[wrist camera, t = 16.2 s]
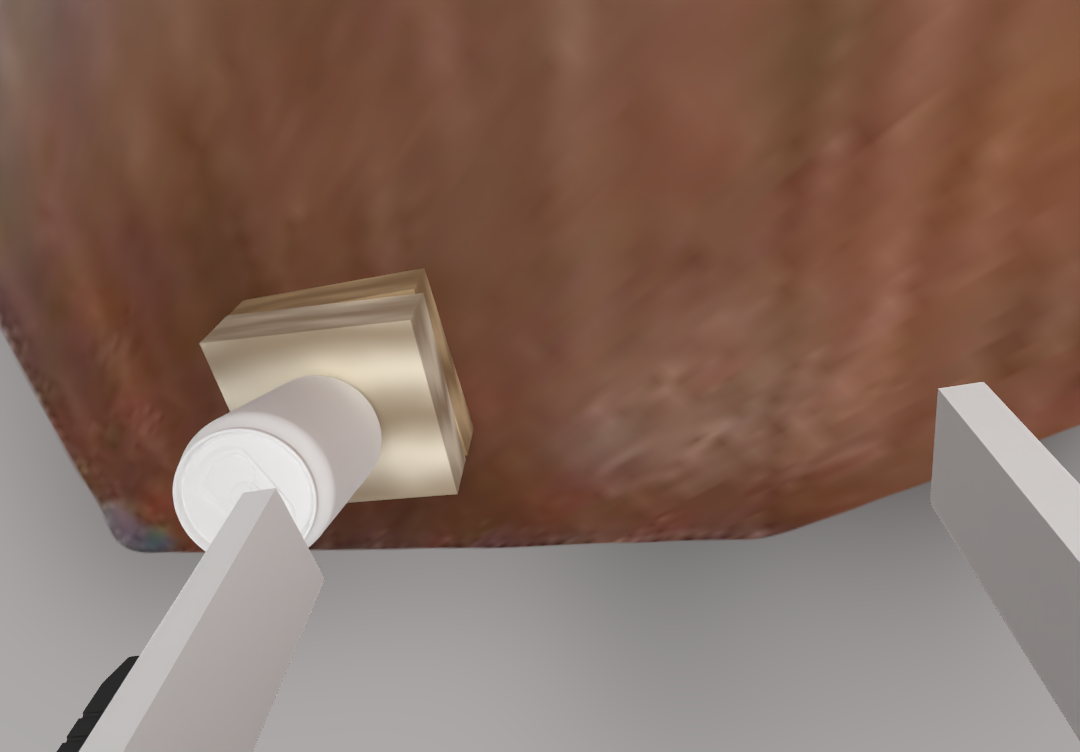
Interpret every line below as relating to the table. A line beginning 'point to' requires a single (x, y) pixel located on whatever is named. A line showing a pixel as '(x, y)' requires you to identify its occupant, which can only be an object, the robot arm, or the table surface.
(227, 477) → the beverage can
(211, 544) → the robot arm
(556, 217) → the table surface
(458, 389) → the bottom slab
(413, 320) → the top slab
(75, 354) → the table surface
